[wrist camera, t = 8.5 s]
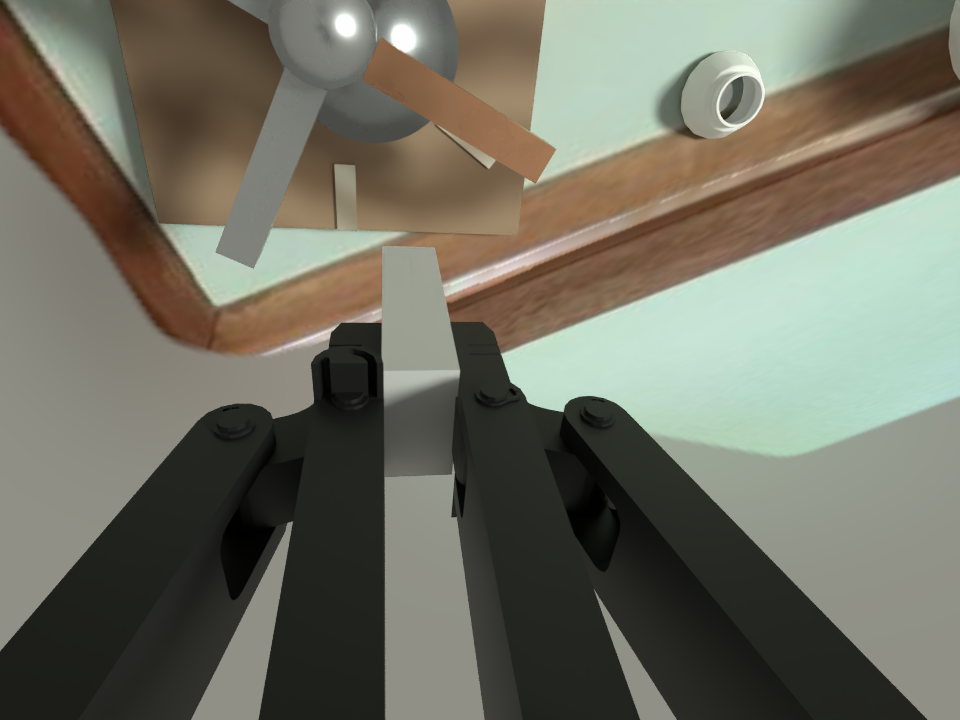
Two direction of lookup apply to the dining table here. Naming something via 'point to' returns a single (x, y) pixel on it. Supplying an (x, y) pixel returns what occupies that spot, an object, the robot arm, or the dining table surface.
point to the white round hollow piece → (721, 94)
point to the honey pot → (955, 38)
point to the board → (318, 123)
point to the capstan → (361, 97)
